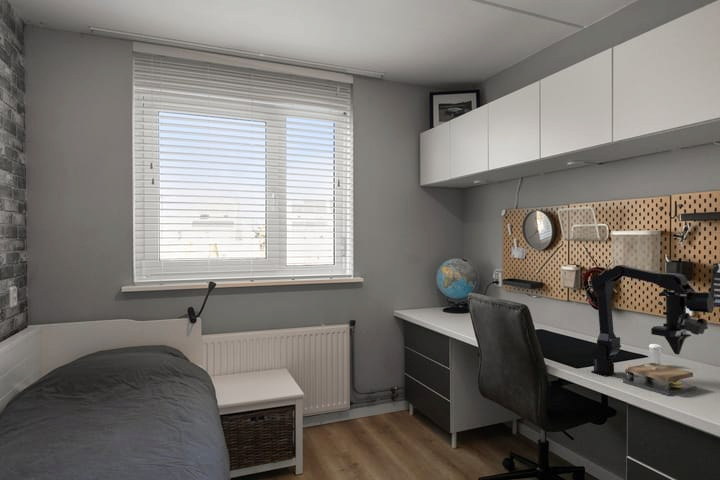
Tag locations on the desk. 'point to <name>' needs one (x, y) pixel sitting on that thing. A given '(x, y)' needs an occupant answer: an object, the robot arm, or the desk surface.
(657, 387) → the base
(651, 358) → the milkshake
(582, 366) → the desk surface
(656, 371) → the top plate
